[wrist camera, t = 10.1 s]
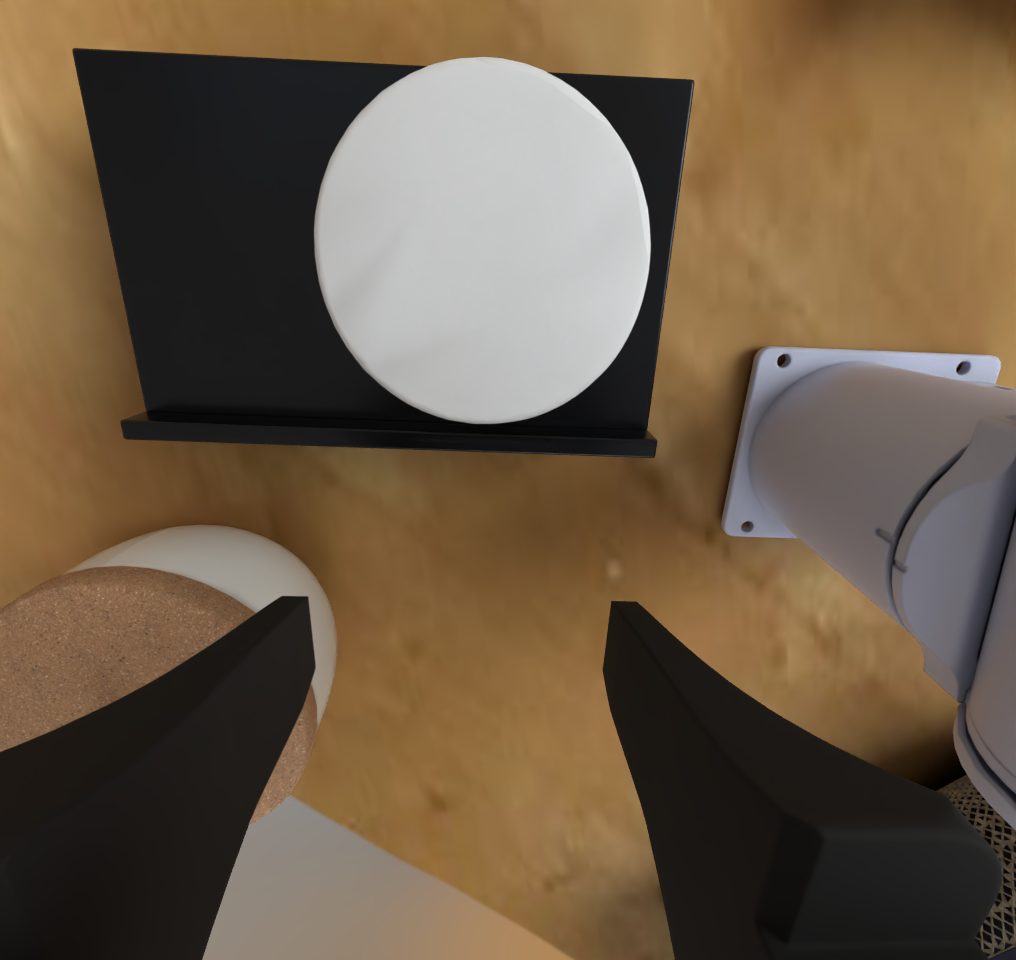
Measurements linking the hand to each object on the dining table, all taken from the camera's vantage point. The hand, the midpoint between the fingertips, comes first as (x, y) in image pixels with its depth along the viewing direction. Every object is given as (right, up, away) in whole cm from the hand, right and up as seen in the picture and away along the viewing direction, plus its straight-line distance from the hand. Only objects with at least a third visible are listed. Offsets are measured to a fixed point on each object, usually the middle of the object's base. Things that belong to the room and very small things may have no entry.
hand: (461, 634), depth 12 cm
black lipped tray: (-2, +11, +7) cm, 13 cm away
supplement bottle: (+1, +10, +3) cm, 10 cm away
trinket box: (-11, -2, +12) cm, 16 cm away
